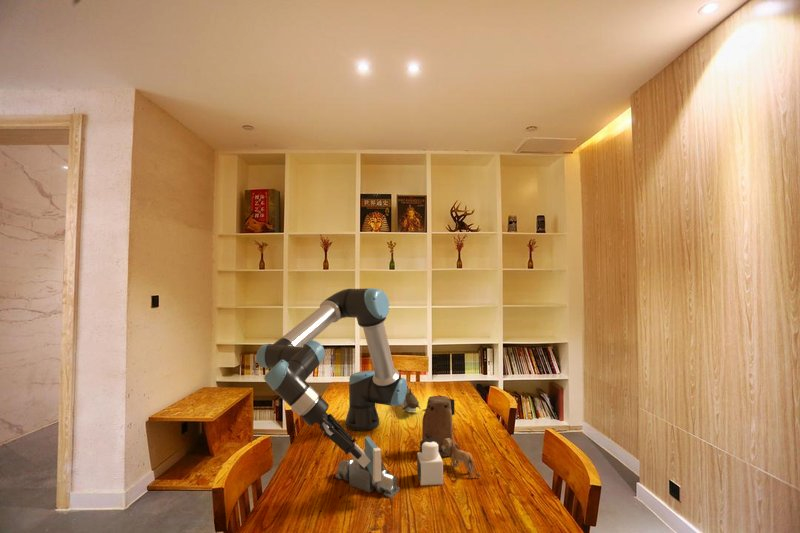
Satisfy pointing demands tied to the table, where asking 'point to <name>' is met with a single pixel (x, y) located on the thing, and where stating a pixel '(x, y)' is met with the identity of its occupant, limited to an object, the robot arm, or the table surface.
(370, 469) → the lever
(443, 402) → the brown rough block
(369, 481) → the valve
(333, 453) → the table surface
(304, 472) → the table surface
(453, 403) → the digital camera
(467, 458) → the lion figurine
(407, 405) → the wood carving
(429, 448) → the medicine bottle
